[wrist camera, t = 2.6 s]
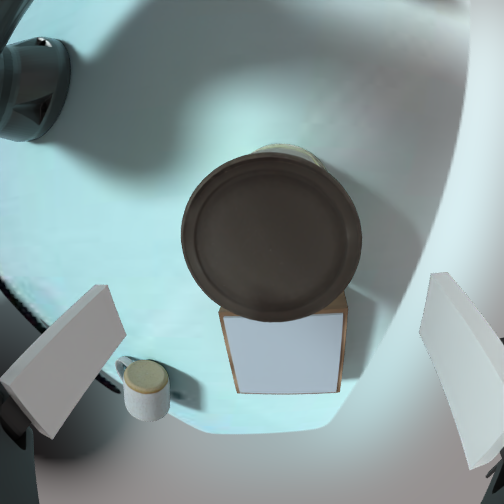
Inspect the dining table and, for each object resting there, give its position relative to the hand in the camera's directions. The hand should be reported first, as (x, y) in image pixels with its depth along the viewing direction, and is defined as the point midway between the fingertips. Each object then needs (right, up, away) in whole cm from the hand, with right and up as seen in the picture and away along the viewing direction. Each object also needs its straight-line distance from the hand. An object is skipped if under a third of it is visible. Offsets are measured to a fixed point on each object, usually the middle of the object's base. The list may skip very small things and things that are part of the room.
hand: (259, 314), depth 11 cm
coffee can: (+3, +8, +18) cm, 20 cm away
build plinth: (+4, -7, +25) cm, 26 cm away
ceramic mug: (-17, -17, +33) cm, 41 cm away
